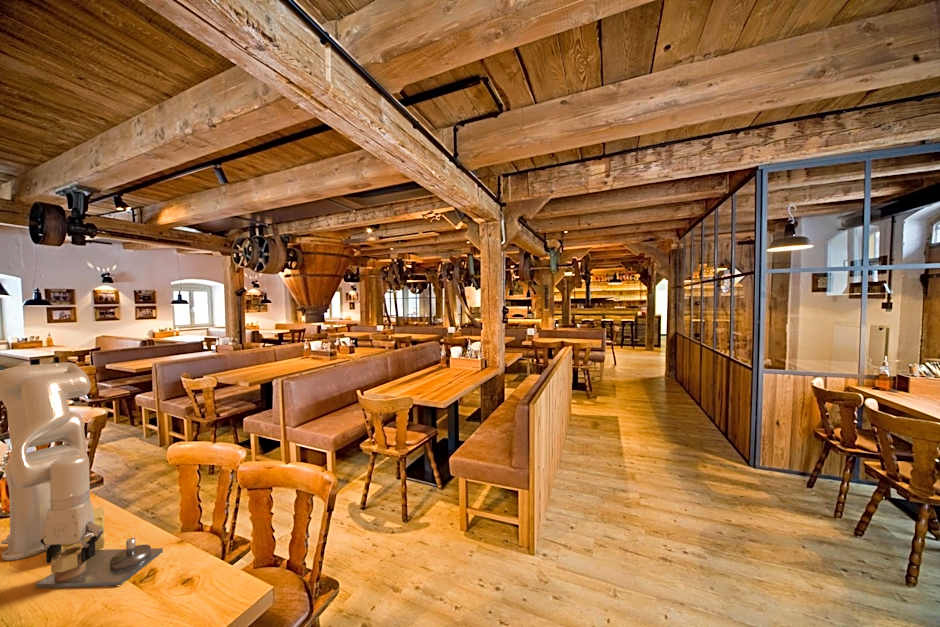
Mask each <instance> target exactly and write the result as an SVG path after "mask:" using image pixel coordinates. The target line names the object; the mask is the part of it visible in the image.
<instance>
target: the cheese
mask: <svg viewBox="0 0 940 627" xmlns="http://www.w3.org/2000/svg"><path fill="white" fill-rule="evenodd" d="M93 511H94V519H95V524H96V525H98V526H100V527H102V528H103V529H104V530H103V532H102V534H101V537H100V538H99V539H98V540H97V541H96V542H95V550H102V548H104V546H105V542H106V539H105V533H104V532H105V509H104V506H100V507H97V508H93ZM93 534H94V533H93ZM84 536H85V535H84ZM85 539H86V540H87V541H89V540H90V539H89V538H88V537H87V538H85ZM79 543H80V542H78V543H75V544H61V550H62V549H64V548H66V547H69V546H73V545H76V544H79Z"/></svg>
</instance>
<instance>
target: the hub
mask: <svg viewBox="0 0 940 627" xmlns="http://www.w3.org/2000/svg"><path fill="white" fill-rule="evenodd" d="M125 545H126V546H125V547H126V548H124V549H125V550H123V551H121V552H119V553H118V554H116V555H115V556H114V557H112V559H111V560H110V568H111V569H112V570H121V569H125V568H129V567H132V566H134V565H136V564H138V563H140V562H142V561H144V560H145V559H146V558H147V557H148V556H149V555H150V554H151V549H152V546H151V545H149V544H139V545H136V537H130V538H129V539H127V540H126V544H125Z"/></svg>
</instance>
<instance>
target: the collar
mask: <svg viewBox="0 0 940 627" xmlns="http://www.w3.org/2000/svg"><path fill="white" fill-rule="evenodd" d="M83 547H84V546H83V545H82V544H81V543H79V544H76V545H73V546H69V547H66V548H64V549H62V550H60V551H58V552H57V553H55V554H53V555H52V559H51V563H50V566H51V567H50V570H51V571H50V572H51V574H52V573H54V572H64V571H67V570H70V569H72V568H75V567H78V566H79V565H81V564H82V563H84V562H82V561H81V549H82V548H83Z"/></svg>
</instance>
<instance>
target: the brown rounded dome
mask: <svg viewBox="0 0 940 627" xmlns="http://www.w3.org/2000/svg"><path fill="white" fill-rule="evenodd" d="M85 570H86V561H85V562H84V563H82V564H81V565H79V566H78V567H75V568H72V569H70V570H67V571H64V572H55V581H57V582H61V581H65V580H69V579H71V578H74V577H76V576H78V575H80V574H81V573H82V572H84V571H85Z"/></svg>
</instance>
